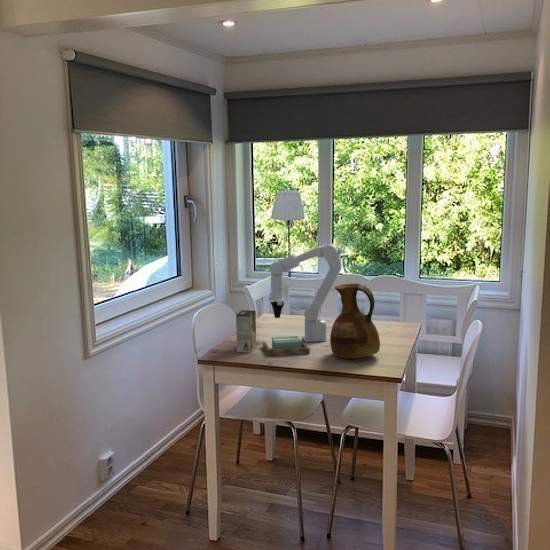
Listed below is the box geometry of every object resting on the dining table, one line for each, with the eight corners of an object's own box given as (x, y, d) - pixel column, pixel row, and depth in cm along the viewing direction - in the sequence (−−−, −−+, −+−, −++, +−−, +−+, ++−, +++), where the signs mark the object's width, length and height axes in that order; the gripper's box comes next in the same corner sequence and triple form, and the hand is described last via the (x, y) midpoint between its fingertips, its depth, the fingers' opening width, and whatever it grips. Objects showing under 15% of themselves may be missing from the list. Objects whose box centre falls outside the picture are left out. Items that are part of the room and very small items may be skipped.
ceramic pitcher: (337, 347, 254) (337, 278, 249) (384, 352, 247) (385, 281, 242) (323, 360, 236) (324, 286, 231) (374, 365, 229) (375, 289, 224)
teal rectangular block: (297, 347, 256) (297, 335, 255) (301, 353, 247) (301, 341, 246) (271, 348, 254) (271, 337, 253) (275, 354, 245) (274, 342, 244)
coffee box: (242, 346, 257) (241, 309, 255) (256, 346, 256) (256, 310, 253) (236, 352, 248) (235, 314, 246) (251, 352, 247) (250, 315, 244)
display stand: (302, 344, 258) (302, 339, 258) (309, 354, 245) (309, 348, 244) (262, 346, 256) (262, 341, 255) (267, 356, 242) (267, 350, 241)
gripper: (265, 285, 273) (266, 314, 275) (270, 291, 259) (271, 321, 261) (281, 285, 274) (281, 313, 276) (286, 290, 260) (286, 320, 262)
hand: (277, 317), depth 269 cm, fingers closed
